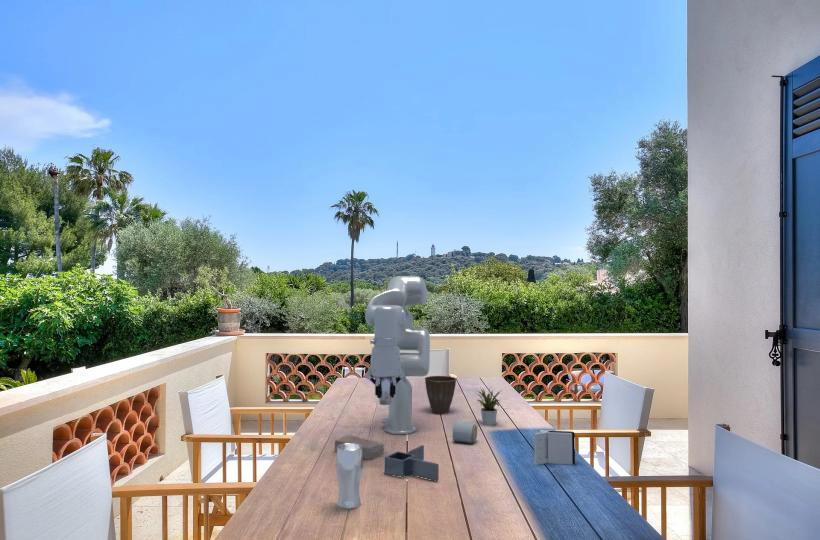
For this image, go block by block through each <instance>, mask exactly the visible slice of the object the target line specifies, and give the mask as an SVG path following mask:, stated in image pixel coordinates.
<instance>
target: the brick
mask: <svg viewBox="0 0 820 540" xmlns="http://www.w3.org/2000/svg"><path fill="white" fill-rule="evenodd" d="M345 443H357V444H360V445H362V455H363V459H364V460H368V461H372V460H375V459H377V458H378V457H382V456H384V453H385V452H384V451H385V448H384V443H383V442H378V441H377V440H367V439H365V438H363V437H362V438H361V437H359V436H356V435H353V434H348V435H344V436H342V437H339V438H338V439H335V440H334V451H335V452H336V453H337V447H338V446H339V445H341V444H345Z"/></svg>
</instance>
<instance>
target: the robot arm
mask: <svg viewBox="0 0 820 540" xmlns="http://www.w3.org/2000/svg"><path fill="white" fill-rule="evenodd" d="M428 296H429V294H428V289H427V286H426V282H425V281H424V279H423V278H422V277H421V276H417V275H397V276H394V277H393V278H391V279H390V281H389V283H388V285H387V287H386V290H385V291H383V292H381V293H380V294H377V295H375V296H373V297H372V298H371V299H370V300H369V302H368V304H367V307H366V309H365V314H364V316H365V317H364V318H365V321H366V324H367V325H369V326H371V327H374V338H373V339H370V340H369V343H370V345H371V344H373V345H374V346H372V348H371V354H370V365H369V366H370V367H368V370H367V371H366V373H365V375H364V377H365V379H367V380H368V381H370V382H372V383H373V385H374V386H375V387H374V390H375V391H374V395H375V396H376V397H377V399H379V398H380V386H379V381H380V377H391V404H389V405H388V417H382V420H381V423H382V424H386V426H385V427H384V431H385V432H386V433H387V434H392V435H409V434H412V433H415V432H416V431H417V430H416V429H417V427H416V426H415V425H413V387H412V384H411V382H410V381H409V380H408V377H425V376H426V377H427V376H428V374H429V371H430V356H431V355H430V353H431V337H430V333H429V330H428V329H427V328H425V327H414V325H413V324H414V316H413V314H412V313H411V311H410V310H409V309H408V308H407V307H406V306H424V305H425V304H427V302H428ZM401 351H417V352H401Z"/></svg>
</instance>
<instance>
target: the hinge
mask: <svg viewBox="0 0 820 540" xmlns="http://www.w3.org/2000/svg"><path fill="white" fill-rule="evenodd" d="M575 440H576V435H575V432H574V431H572V430H559V429H558V430H555V429H547V430H546V429H540V430H539V432H536V433H535V432H534V434H533V441H534V442H533V443H534V445H533V447H534V451H533V454H534V465H535V466H538V465H543V464H551V465H552V464H553V465H554V464H556V465H568V466H569V465H570V466H571V465H576V441H575Z"/></svg>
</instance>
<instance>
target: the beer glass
mask: <svg viewBox="0 0 820 540" xmlns="http://www.w3.org/2000/svg"><path fill="white" fill-rule="evenodd" d="M335 463H336V464H335V465H336V475H337V482H338V499H337V506H339V507H338V508H340V507H341V508H340V509H342V508H346V509H345V510H352V509H351V508H354V509H357V508H359V507H360V506H361V496H360V486H361V480H362V476H363V475H362V474H363V473H362V472H363V467H364V466H363V464H364V463H363V455H362V445H360V444H357V443H345V444H341V445H339V446H338V447H337V452H336V458H335ZM358 506H359V507H358ZM356 507H357V508H356Z"/></svg>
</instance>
